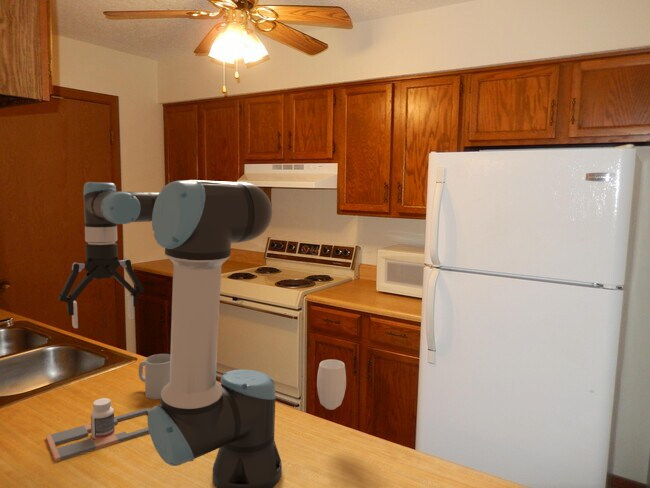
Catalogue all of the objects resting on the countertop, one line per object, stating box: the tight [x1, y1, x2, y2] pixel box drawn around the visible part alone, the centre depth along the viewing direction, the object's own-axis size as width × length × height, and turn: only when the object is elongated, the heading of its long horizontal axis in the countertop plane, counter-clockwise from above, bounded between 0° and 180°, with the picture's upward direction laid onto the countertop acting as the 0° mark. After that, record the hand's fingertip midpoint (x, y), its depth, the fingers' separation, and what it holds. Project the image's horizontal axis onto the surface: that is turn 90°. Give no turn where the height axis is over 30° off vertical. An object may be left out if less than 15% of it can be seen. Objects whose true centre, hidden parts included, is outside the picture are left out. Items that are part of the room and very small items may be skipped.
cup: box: [316, 359, 347, 411], centre depth 115 cm, size 7×7×21 cm
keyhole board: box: [45, 407, 151, 463], centre depth 118 cm, size 12×25×1 cm, turn 129°
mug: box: [138, 353, 171, 400], centre depth 141 cm, size 12×8×11 cm
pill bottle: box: [90, 397, 116, 440], centre depth 116 cm, size 5×5×9 cm
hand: (103, 322), depth 122 cm, fingers open, 13 cm apart
